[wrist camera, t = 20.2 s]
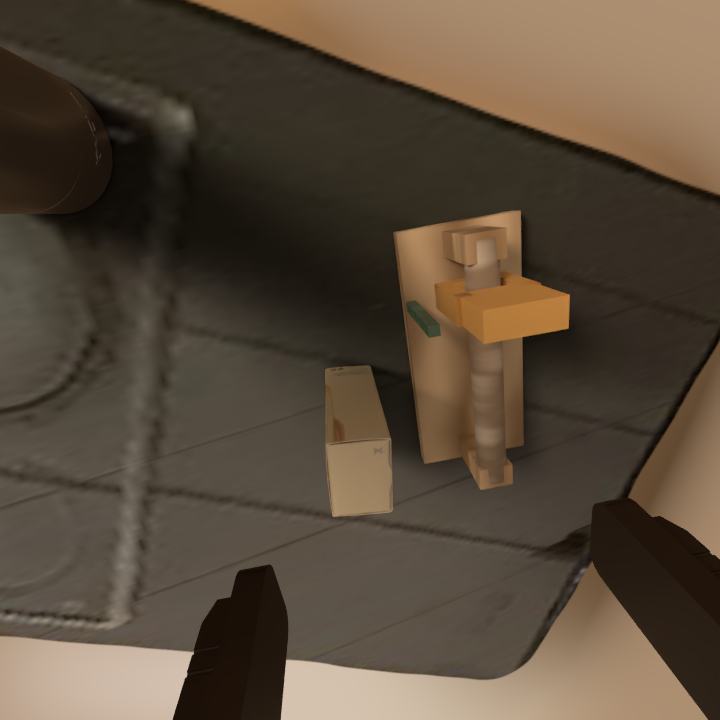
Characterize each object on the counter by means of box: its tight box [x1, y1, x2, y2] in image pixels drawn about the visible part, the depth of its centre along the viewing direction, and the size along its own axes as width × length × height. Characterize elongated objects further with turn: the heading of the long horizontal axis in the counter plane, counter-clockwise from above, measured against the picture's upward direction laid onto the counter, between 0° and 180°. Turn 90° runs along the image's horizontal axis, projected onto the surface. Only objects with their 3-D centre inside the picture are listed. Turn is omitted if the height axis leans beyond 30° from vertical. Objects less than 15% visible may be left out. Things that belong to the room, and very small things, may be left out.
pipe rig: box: [393, 211, 524, 490], centre depth 32 cm, size 10×22×9 cm, turn 9°
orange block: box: [434, 271, 570, 344], centre depth 26 cm, size 6×2×9 cm, turn 99°
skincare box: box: [325, 365, 393, 517], centre depth 31 cm, size 6×4×12 cm
